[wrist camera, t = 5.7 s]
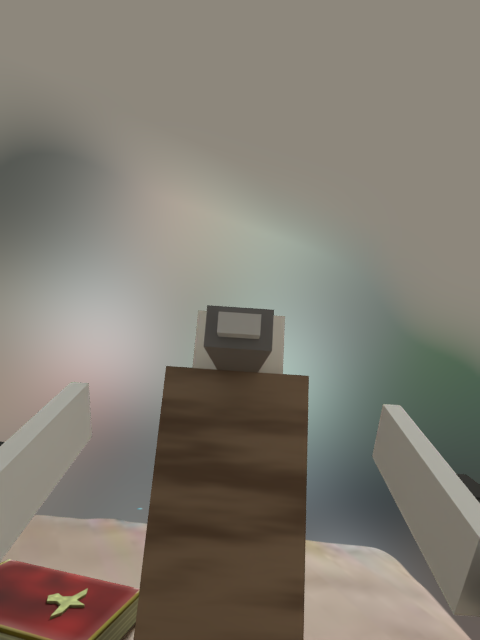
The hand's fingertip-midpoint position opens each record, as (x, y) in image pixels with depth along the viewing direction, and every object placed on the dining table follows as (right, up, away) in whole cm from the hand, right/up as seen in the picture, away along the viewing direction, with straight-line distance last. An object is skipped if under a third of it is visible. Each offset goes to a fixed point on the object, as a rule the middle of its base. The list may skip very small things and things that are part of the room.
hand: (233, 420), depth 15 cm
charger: (0, 0, +15) cm, 15 cm away
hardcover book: (-24, -32, +24) cm, 46 cm away
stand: (-2, -31, +16) cm, 35 cm away
